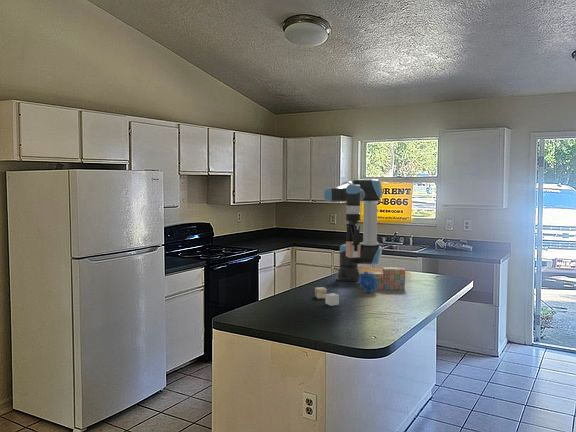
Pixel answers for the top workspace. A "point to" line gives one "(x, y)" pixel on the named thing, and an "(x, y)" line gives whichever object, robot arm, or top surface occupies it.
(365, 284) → the grapes
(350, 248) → the terracotta block
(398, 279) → the stack of blocks
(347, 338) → the top surface
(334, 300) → the off-white plastic block
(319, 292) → the maple block
